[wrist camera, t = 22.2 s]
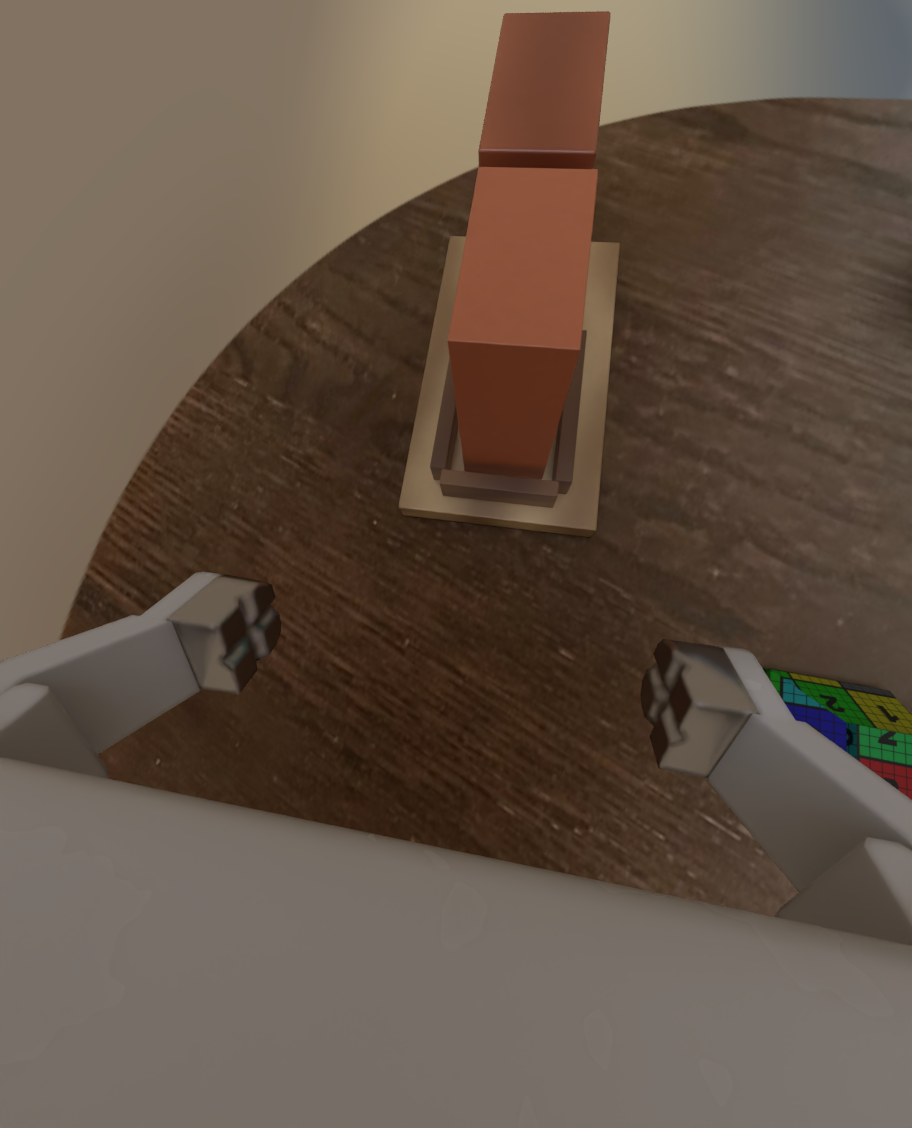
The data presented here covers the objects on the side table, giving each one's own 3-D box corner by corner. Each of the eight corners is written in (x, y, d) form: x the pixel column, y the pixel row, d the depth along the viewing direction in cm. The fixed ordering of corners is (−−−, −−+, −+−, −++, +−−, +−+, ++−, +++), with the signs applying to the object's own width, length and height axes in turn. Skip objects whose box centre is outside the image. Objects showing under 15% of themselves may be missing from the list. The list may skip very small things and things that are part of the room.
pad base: (402, 515, 22) (333, 400, 12) (451, 254, 26) (428, 4, 16) (590, 538, 21) (679, 430, 11) (614, 261, 25) (696, -2, 15)
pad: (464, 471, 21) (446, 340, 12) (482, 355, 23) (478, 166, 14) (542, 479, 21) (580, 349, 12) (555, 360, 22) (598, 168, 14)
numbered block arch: (956, 703, 18) (1106, 718, 14) (964, 838, 17) (1130, 901, 13) (763, 668, 19) (845, 671, 15) (759, 794, 18) (847, 838, 14)
